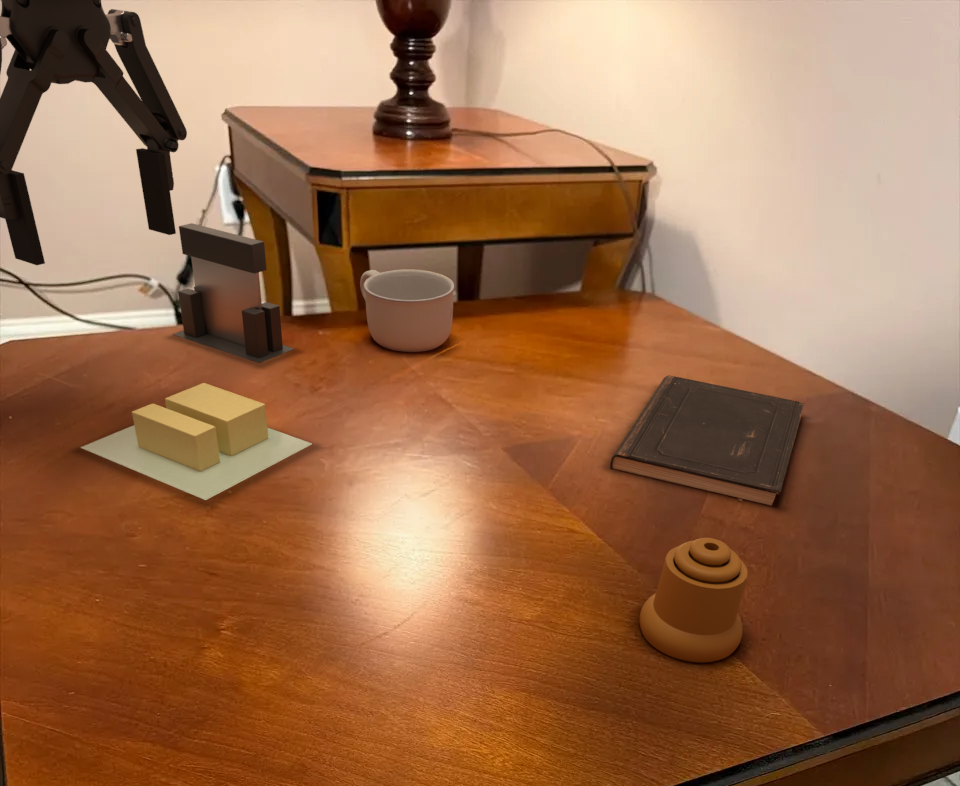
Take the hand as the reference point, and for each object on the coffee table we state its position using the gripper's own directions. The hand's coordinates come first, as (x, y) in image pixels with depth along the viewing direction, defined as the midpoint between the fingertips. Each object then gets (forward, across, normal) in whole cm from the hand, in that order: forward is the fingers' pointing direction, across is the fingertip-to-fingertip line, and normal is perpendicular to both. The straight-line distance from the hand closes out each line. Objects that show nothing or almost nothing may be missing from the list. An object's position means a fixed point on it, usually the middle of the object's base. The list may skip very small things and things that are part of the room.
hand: (100, 245), depth 75 cm
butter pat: (+16, -2, -8) cm, 18 cm away
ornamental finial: (+17, +2, -57) cm, 60 cm away
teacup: (+18, +38, -5) cm, 42 cm away
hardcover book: (+17, +35, -47) cm, 61 cm away
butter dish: (+17, 0, -8) cm, 19 cm away
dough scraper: (+16, +22, +9) cm, 29 cm away
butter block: (+16, +3, -8) cm, 18 cm away
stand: (+17, +22, +9) cm, 30 cm away
